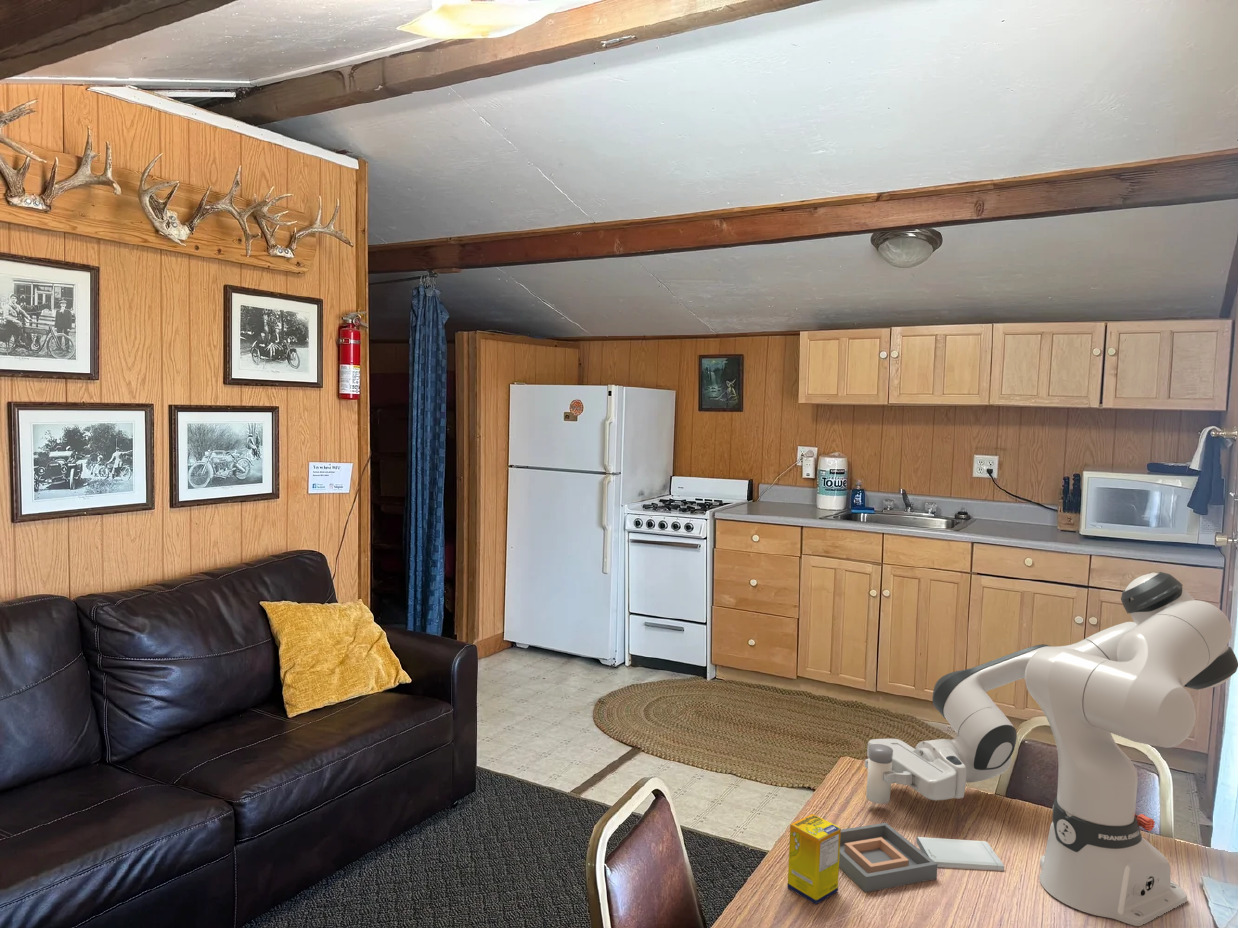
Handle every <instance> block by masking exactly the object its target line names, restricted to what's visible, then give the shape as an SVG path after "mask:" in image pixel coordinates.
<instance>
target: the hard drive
mask: <svg viewBox="0 0 1238 928" xmlns="http://www.w3.org/2000/svg"><path fill="white" fill-rule="evenodd" d="M915 841H916V844H917V846H918V847H919V850H921V851H922V852H923V853H924V854H926V855H927V856H928V857H929V858H931V859H932V860H933V861H934V862H936V863H937V864H938V865H937V868H950V869H960V870H961V869H962V870H964V869H965V870H980V871H981V870H983V871H998V872H999V871H1001V872H1004V871H1005V865H1004V863H1003V862H1002V860H1001V859H1000V857H999V856H998V855H997V854H996V852H995V851H994V850H993V848H992V846H991V845H990V844H989V843H988V842H987V841H986V840H985V841H984V840H973V839H972V840H970V839H957V838H942V837H924V836H916V839H915Z"/></svg>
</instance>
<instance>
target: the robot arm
mask: <svg viewBox="0 0 1238 928" xmlns="http://www.w3.org/2000/svg"><path fill="white" fill-rule="evenodd" d="M1120 601H1121V603H1122V606H1123V609H1124V610H1125V612H1126V613H1127V614H1130V617H1131V618H1132V620H1133V621H1126V622H1122V623H1119V624H1115V625H1113V626H1110V627H1106V628H1105V629H1102V630H1100V631H1098V632H1096V633H1094V634H1092V635H1090V636H1087V637H1085V638H1083V639H1082V640H1079V641H1078V642H1075V643H1071V644H1067V645H1061V646H1060V645H1059V646H1058V645H1057V646H1052V645H1049V644H1037V645H1033V646H1030V647H1026V648H1022V649H1020V650H1018V651H1014V652H1012V653H1009V654H1006V655H1004V656H1001V657H999V658H996V659H993V660H990V661H988V662H985V663H982V664H979V665H976V666H974V667H973V666H972V667H969V668H967V669H961V670H957V671H952V672H949V673H947V674H945V675H943V676H941V677H940V678H938V680H937V681H936V682H935V684H934V687H933V690H932V705H933V707H934V708H935V709H936V710H937V712H938V713H940V715H941V716H942V717H943V718H944V719H945V720H946V721H947V722H948V723H949V725H950V726H951V728H952V729H953V730H954V731H955V733H956V737H954V738H953V739H949V738H937V739H930V740H924V741H919V742H918V743H917V745H916V746H915V748H914V747H913V746H911V745H909V744H908V743H907V742H905V741H903V740H902V739H898V738H873V739H869V741H868V742H867V749H866V754H867V755H866V756H867V758H866V759H865V760H864V768H866V769H867V770H868V759H869V746H870V745H872V744H882V745H886V746H889V747H891V748H892V749H893V758H892V771H888V772H884V773H883V780H884V781H885V782H887V783H888V784H891V785H892V784H896V785H897V784H898V785H901V786H909V787H910V788H912V789H913V790H914V791H915V792H918V794H920V795H921V796H922V797H924V798H926V799H927V800H932V801H945V800H950V799H963V798H964V797H965V793H966V792H965V791H966V783H976V782H982V781H983V782H984V781H986V780H990V779H993V778H995V777H998V776H1000V775H1002V774H1004V773H1006V772H1007V771H1008V769H1009V768H1010V766H1011V762H1012V756H1013V754H1014V751H1015V748H1016V743H1017V740H1018V739H1017V738H1018V733H1017V729H1016V728H1015V727H1014V725H1013V723H1012V722H1011V721H1010V720H1009V718H1008V717H1007V716H1006V715H1005V713H1004V712H1003V711H1002V710H1001V709H1000V708H999V707H998V705H997V704H996V703H995V702H994V700H993V699H992V698H991V697H990V696H989V694H988V693H987V692H988V691H991V690H994V689H997V688H1000V687H1002V686H1005V685H1008V684H1010V683H1013V682H1016V681H1019V680H1022V679H1024V682H1025V686H1026V689H1027V692H1028V694H1029V695H1030V696H1031V697H1032V698H1033V700H1034V701H1035V702H1036V704H1037V705H1038V706H1039V708H1040V710H1041V711H1042V712H1043V714H1044V716H1045V717H1046V720H1047V722H1048V724H1049V726H1050V729H1051V732H1052V734H1053V738H1054V742H1055V745H1056V749H1057V758H1058V759H1057V760H1058V772H1057V773H1058V774H1057V794H1056V795H1057V796H1056V797H1054V801H1053V805H1052V808H1051V809H1052V818H1051V820H1052V822H1051V823H1050V828H1049V831H1048V836H1047V841H1046V848H1045V853H1044V854H1042V855H1041V856H1040V859H1039V864H1040V867H1041V871H1040V874H1039V882H1040V884H1041V885H1042V887H1043V888H1044V889H1045V890H1046V892H1047V893H1048V894H1050V896H1052V897H1053V898H1055V899H1057V900H1058V901H1059V902H1061V903H1063V904H1065V905H1067V906H1069V907H1071V908H1073V909H1075V910H1078V911H1081V912H1084V913H1086V914H1090V915H1093V916H1098V917H1103V918H1109V919H1113V920H1116V921H1119V922H1122V923H1125V924H1127V925H1130V926H1135V927H1140V926H1144V925H1145V924H1148V923H1149V922H1152V921H1153V920H1155V919H1157V918H1158V917H1157V916H1159V917H1161V916H1164V915H1165V914H1166V912H1167V913H1169V912H1170V910H1171V909H1173V908H1175V909H1176V908H1178V907H1180V906H1181V905H1180V904H1182V903H1184V904H1185V902H1186V901H1187V902H1188V895H1187V894H1186V892H1185V891H1184V890H1183V888H1181V886H1179V885H1178V884H1177V883H1176V882H1174V881H1173V880H1172V879H1171V877H1172V876H1171V874H1172V873H1171V866H1170V863H1169V860H1168V859H1167V857H1166V856H1165V855H1164V854H1163V853H1162V852H1161V851H1160V850H1158V849H1157V848H1156V846H1153V844H1151V843H1150V842H1149V841H1148V840H1146V839H1145V838H1144V837H1143V836H1142V832H1141V829H1140V827H1142V828H1143V829H1144V830H1145V831H1147V832H1151V831H1152V830H1153V828H1155V825H1156V824H1155V821H1154V819H1153V818H1151V817H1148V816H1146V815H1145V814H1143V813H1140V814H1139V815H1138V814H1136V803H1137V796H1138V795H1137V793H1138V784H1139V783H1138V781H1139V777H1138V772H1137V769H1136V767H1135V765H1134V763H1133V761H1131V759H1130V758H1129V757H1128V755H1126V753H1125V752H1124V751H1123V750H1122V749H1121V748H1120V746H1119V745H1118V744H1117V743H1116V741H1115V739H1114V737H1113V735H1112V734H1114V735H1116V736H1118V737H1121V738H1124V739H1126V740H1129V741H1131V742H1134V743H1138V744H1143V745H1148V746H1152V747H1153V746H1154V747H1160V748H1166V749H1169V748H1174V747H1177V746H1179V745H1180V744H1182V743H1183V742H1184V741H1186V739H1188V738H1189V737H1190V735H1191V733H1192V732H1193V729H1194V727H1195V724H1196V719H1197V717H1196V716H1197V712H1196V707H1195V706H1196V705H1195V703H1194V700H1193V698H1192V696H1191V694H1190V693H1189V691H1188V690H1187V689H1186V688H1188V689H1193V690H1195V691H1196V690H1203V689H1211V688H1217V687H1218V686H1221V685H1222V684H1224V683H1226V682H1227V681H1229V679H1230V678H1231V677H1232V676H1233V675H1234V674H1235V673H1236V672H1237V670H1238V658H1237V656H1236V654H1235V652H1234V650H1233V648H1232V647H1231V646H1228V644H1229V642H1230V641H1231V639H1232V635H1233V633H1232V631H1233V630H1232V626H1231V622H1230V620H1229V618H1228V617H1227V615H1226V614H1225V613H1224V612H1223V611H1222V610H1221V609H1220V608H1218V607H1217V606H1215V605H1214V604H1212V603H1210V602H1207V601H1204V600H1199V599H1198V600H1197V599H1195V598H1194V597H1193V596H1192V595H1191V594H1190V593H1189V592H1188V591H1187V590H1186V589H1185V588H1183V583H1181V582H1180V581H1179V580H1178V579H1177V578H1176V577H1174V576H1173V575H1172V574H1170V573H1166V572H1163V571H1158V572H1154V573H1153V572H1152V573H1151V572H1150V573H1147V574H1143V575H1140V576H1138V577H1135V579H1133V580H1131V582H1129V584H1128V585H1127V587H1126V588H1125V589H1124V590H1123V591H1122V592H1121V596H1120ZM1184 687H1185V688H1184ZM1187 902H1186V903H1187ZM1179 905H1180V906H1179ZM1182 905H1183V904H1182ZM1177 906H1178V907H1177ZM1173 910H1174V909H1173ZM1168 911H1169V912H1168ZM1171 911H1172V910H1171ZM1164 913H1165V914H1164ZM1156 917H1157V918H1156ZM1154 918H1155V919H1154ZM1143 924H1144V925H1143Z"/></svg>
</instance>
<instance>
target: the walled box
mask: <svg viewBox="0 0 1238 928" xmlns="http://www.w3.org/2000/svg"><path fill="white" fill-rule="evenodd" d="M937 865H938V864H937V863H936V862H934V861H933V860H932V859H931V858H929V857H928V856H927V855H926V854H924V853H923V852H922V851H921V849H920V848H918V847H917V846H916V845H914V844H913V843H912V842H911V841H909V840H908V839H907V838H906V837H904V836H903V835H902V834H901V833H900V832H898V831H897V830H896V829H894V828H893V827H892V826H891V825H890V824H889V823H887V822H882V823H874V824H870V825H863V826H856V827H851V828H843V829H841V835H840V855H839V870H841V871H843V872H844V874H846V876H847V877H848V878H850V879H851V880H852V881H853V882H854V884H856V885H857V886H858V887H859V888H860V889H861V890H862V891H864V892H863V893H869V892H874V891H875V892H876V891H880V890H886V889H890V888H895V887H896V888H897V887H900V886H907V885H912V884H917V883H922V882H926V881H932V880H937V877H938V867H937Z"/></svg>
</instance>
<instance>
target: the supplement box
mask: <svg viewBox="0 0 1238 928" xmlns="http://www.w3.org/2000/svg"><path fill="white" fill-rule="evenodd" d="M789 826H790V828H789V844H788V845H789V847H788V865H787V866H788V868H787V869H788V870H787V889H789V890H790V891H792V892H794V893H796V895H797V894H798V896H800V897H802V898H804V899H806V900H807V901H808V902H811V903H812V904H814V905H818V904H819V903H821V902H823V901H824V900H826V899H828V898H830V897H831V896H832V895H834V894H836V893H838V891H839V875H840V874H839V872H840V868H839V855H840V835H841V830H842V828H841V826H839V825H836V824H834V823H832V822H830V821H828V820H826V819H824V818H822V817H821V816H818V815H816V814H814V813H811V814H809V815H807V816H804V817H803V818H800V819H798V820H796V821H795V822H792V823H790V824H789Z"/></svg>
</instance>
